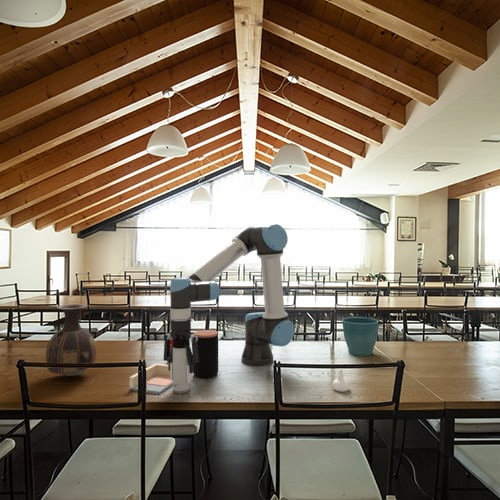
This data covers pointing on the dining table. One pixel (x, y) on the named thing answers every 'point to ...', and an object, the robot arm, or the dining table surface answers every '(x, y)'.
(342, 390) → the garlic bulb
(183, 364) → the travel mug
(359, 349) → the flower pot
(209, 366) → the coffee jar
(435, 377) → the dining table surface
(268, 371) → the dining table surface
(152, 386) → the tray
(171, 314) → the robot arm
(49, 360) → the vase
